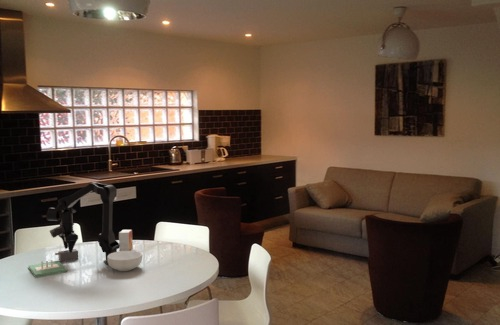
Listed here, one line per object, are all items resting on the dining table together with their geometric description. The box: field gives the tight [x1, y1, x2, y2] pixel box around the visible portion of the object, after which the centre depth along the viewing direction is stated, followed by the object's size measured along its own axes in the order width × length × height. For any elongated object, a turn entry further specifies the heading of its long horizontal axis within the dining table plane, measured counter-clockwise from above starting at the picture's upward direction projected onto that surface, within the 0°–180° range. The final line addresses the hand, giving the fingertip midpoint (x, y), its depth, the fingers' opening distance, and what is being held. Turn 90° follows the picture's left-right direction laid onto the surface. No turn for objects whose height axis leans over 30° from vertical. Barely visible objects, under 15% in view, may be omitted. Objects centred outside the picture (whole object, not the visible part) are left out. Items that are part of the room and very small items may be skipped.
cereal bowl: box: [107, 250, 143, 272], centre depth 243 cm, size 17×17×7 cm
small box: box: [118, 229, 134, 251], centre depth 279 cm, size 8×6×10 cm
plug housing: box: [54, 248, 79, 263], centre depth 259 cm, size 4×11×4 cm, turn 124°
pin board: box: [28, 260, 68, 278], centre depth 243 cm, size 18×14×4 cm
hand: (68, 250), depth 259 cm, fingers open, 9 cm apart
